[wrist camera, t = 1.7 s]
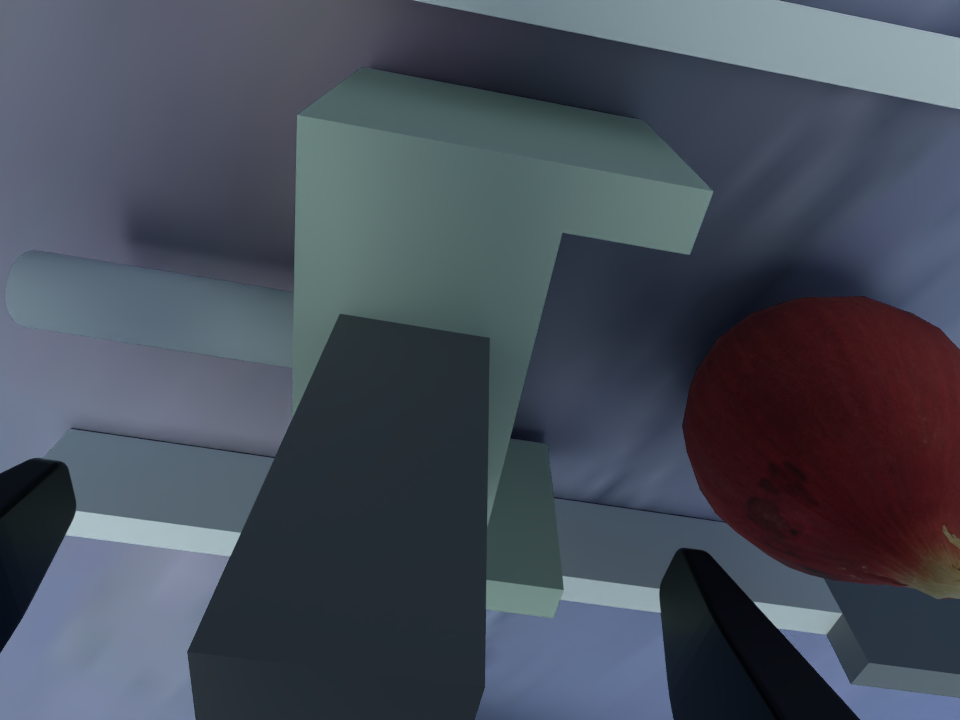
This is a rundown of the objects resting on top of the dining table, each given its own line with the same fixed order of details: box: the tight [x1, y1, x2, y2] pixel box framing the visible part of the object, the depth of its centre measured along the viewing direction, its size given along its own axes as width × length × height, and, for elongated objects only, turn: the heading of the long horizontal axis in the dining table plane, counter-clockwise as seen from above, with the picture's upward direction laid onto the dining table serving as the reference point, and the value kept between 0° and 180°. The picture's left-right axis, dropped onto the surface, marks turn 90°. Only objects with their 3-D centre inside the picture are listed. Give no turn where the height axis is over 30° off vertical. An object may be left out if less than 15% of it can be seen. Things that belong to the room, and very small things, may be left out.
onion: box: [682, 296, 960, 599], centre depth 13 cm, size 6×6×8 cm
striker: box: [5, 67, 714, 720], centre depth 11 cm, size 10×12×11 cm
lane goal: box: [42, 0, 960, 698], centre depth 14 cm, size 15×34×7 cm, turn 80°
